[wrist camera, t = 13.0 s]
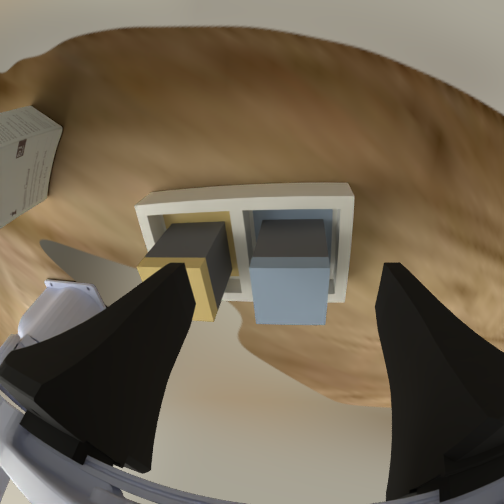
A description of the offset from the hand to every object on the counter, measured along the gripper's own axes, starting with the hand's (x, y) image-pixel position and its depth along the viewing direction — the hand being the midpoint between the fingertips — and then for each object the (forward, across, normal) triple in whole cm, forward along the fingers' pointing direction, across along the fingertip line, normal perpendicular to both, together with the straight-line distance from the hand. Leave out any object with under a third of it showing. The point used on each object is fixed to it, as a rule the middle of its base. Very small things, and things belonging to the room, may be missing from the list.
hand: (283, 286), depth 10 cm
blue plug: (+9, 0, +4) cm, 10 cm away
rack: (+10, +3, +4) cm, 11 cm away
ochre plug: (+9, +7, +4) cm, 12 cm away
